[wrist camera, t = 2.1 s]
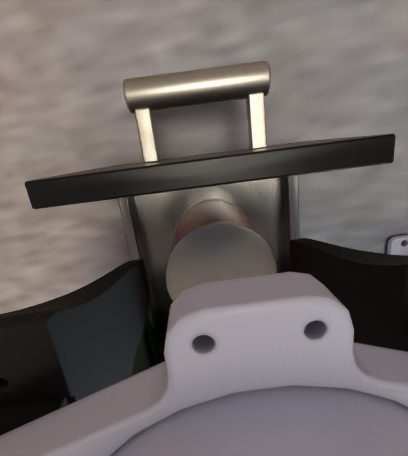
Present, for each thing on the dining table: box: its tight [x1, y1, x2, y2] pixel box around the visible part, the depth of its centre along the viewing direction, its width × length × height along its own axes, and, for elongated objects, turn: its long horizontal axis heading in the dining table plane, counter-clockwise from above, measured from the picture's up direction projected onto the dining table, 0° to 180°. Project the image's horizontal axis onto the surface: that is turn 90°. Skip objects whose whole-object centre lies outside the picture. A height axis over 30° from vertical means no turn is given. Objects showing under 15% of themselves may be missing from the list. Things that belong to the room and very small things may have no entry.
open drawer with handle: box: [25, 61, 395, 365], centre depth 15 cm, size 13×18×8 cm
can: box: [165, 198, 277, 302], centre depth 15 cm, size 5×5×6 cm
